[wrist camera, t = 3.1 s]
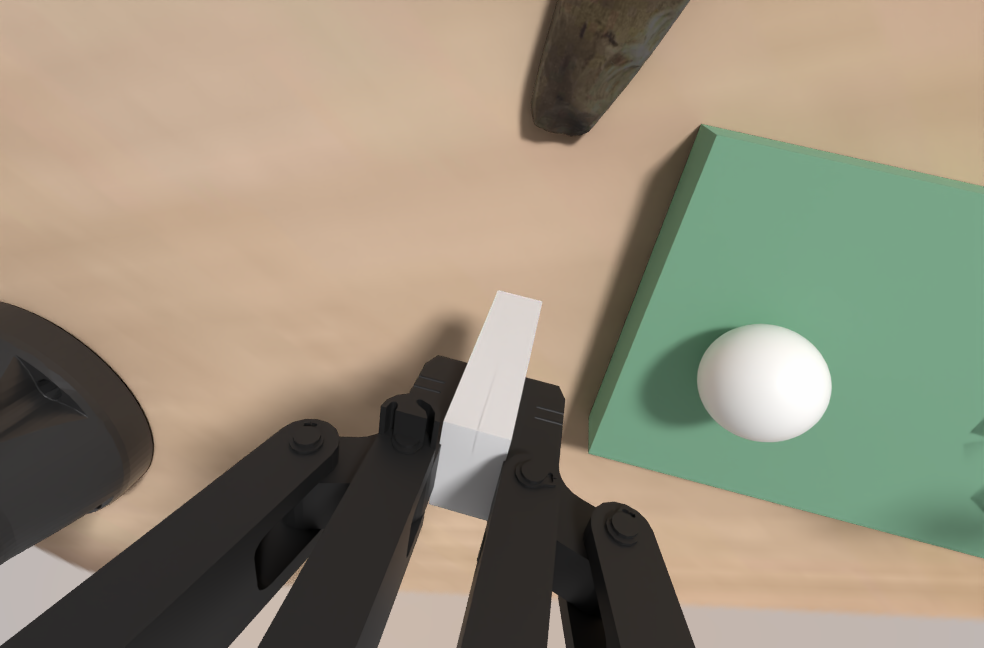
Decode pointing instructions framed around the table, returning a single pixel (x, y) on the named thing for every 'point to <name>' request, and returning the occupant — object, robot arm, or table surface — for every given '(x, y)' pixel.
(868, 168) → the green
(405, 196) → the table surface
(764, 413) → the ball
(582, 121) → the stone
